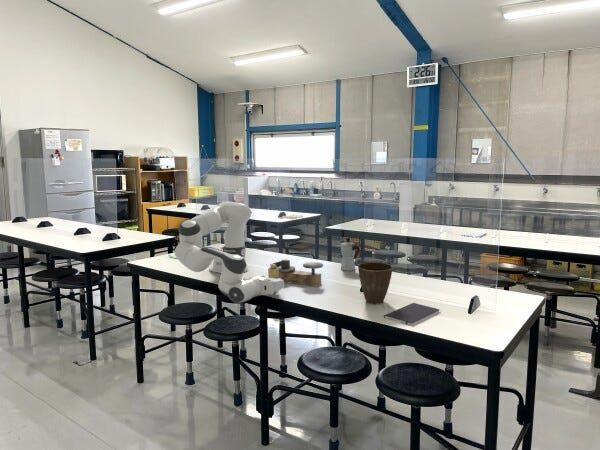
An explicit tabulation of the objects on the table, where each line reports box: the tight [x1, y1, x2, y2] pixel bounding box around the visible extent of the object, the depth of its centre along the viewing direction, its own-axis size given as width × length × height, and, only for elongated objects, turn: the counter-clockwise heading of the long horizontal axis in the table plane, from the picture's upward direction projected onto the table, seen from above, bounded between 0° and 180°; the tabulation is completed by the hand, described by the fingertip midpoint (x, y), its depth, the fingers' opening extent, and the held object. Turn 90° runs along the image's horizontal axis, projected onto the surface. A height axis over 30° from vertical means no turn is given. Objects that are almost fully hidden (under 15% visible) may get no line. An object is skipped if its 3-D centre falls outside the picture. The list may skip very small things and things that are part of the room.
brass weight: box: [267, 263, 279, 279], centre depth 223 cm, size 5×5×12 cm
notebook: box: [383, 302, 440, 326], centre depth 184 cm, size 13×2×21 cm
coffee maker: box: [339, 237, 361, 272], centre depth 256 cm, size 15×9×18 cm, turn 42°
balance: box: [276, 259, 324, 287], centre depth 233 cm, size 26×10×10 cm, turn 61°
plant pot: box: [357, 261, 394, 305], centre depth 200 cm, size 15×15×16 cm
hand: (271, 278), depth 221 cm, fingers open, 8 cm apart
